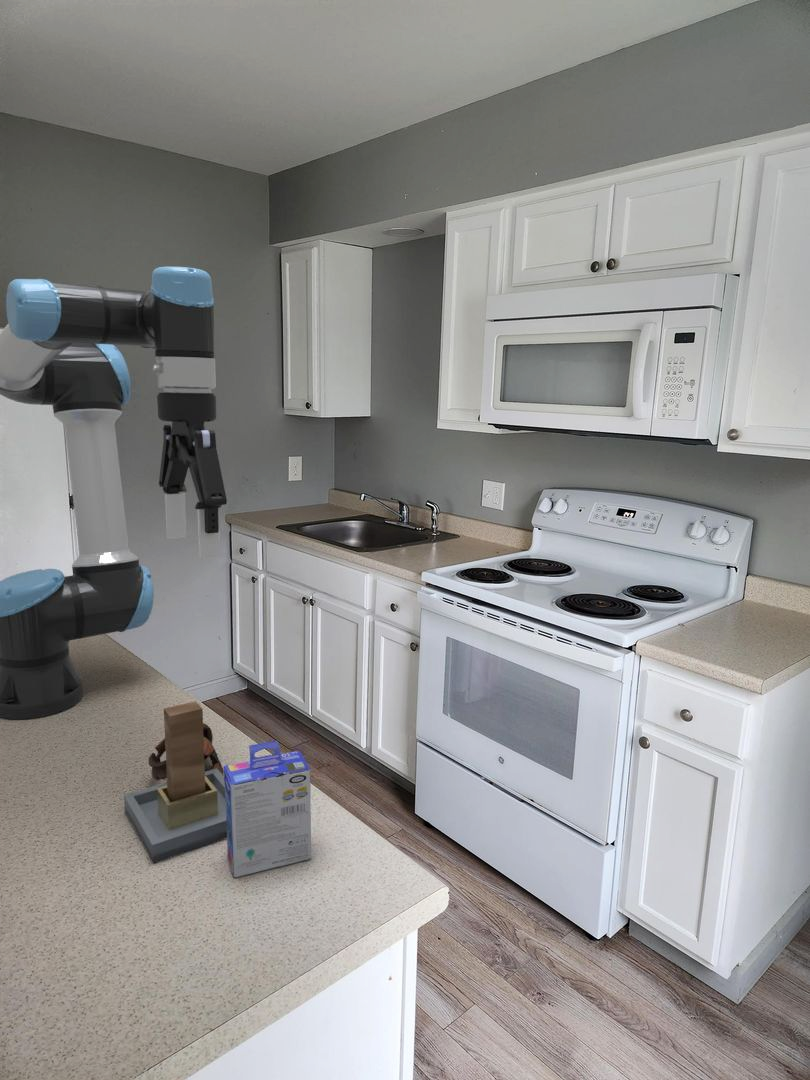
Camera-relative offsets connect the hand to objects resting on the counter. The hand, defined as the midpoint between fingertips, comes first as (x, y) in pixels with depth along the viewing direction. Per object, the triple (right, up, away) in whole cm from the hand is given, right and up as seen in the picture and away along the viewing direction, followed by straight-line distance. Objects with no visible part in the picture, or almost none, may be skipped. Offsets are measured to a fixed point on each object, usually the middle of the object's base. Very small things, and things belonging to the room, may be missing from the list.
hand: (192, 546), depth 102 cm
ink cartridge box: (+13, -38, -11) cm, 42 cm away
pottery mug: (-2, -34, +7) cm, 35 cm away
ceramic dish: (+1, -36, -4) cm, 37 cm away
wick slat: (+1, -35, -4) cm, 36 cm away
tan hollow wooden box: (+1, -35, -4) cm, 36 cm away
